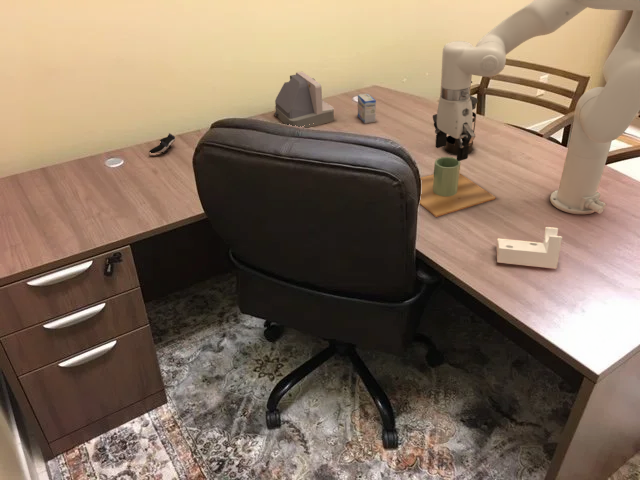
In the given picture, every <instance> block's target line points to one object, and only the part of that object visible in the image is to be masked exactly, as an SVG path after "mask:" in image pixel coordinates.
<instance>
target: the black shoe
mask: <svg viewBox="0 0 640 480" xmlns="http://www.w3.org/2000/svg"><path fill="white" fill-rule="evenodd" d="M176 139H177V138H176V136H174V135H173V134H172V133H170V132H168V135H167V136H166V137H162V138H161V139H159V141H161V143H160V144H159V145H157V146H154V147H152V148H151V149H150V150H149V151H148V153H149V152H151V153H161V152H163V153H161V154H166V153H167V152H168V150H170V149H171V148H172V145H173V144H174V143H175V141H176ZM170 145H171V146H170ZM169 146H170V147H169ZM148 155H149V154H148ZM159 155H160V154H156V155H149V157H156V156H159Z"/></svg>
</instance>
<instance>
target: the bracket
mask: <svg viewBox="0 0 640 480" xmlns="http://www.w3.org/2000/svg"><path fill="white" fill-rule="evenodd" d="M544 229H545V230H544V235H543V240H542V242H539V241H529V240H519V239H511V238H510V239H509V238H499V237H498V238H497V241H496V247H495V249H496V263H500V264H508V265H519V266H527V267H534V268H535V267H536V268H546V269H553V270H554V269H555V270H557V269H558V264H559V257H560V253H561V248H562V243H563V236H562V235H558V232H559V228H558V227H552V226H551V227H550V226H545V228H544Z"/></svg>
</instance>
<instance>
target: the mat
mask: <svg viewBox="0 0 640 480" xmlns="http://www.w3.org/2000/svg"><path fill="white" fill-rule="evenodd" d="M433 177H434V173H432V174H428V175H425V176H422V177H420V178H421V180H422V194H421V200H420V204H419V205H420V206H421V207H422V208H424V209H425V210H426V211H428V212H429V213H430V214H431V215H432V216H434V217H435V218H438V217H442V216H445V215H448V214H452V213H454V212H455V213H456V212H457V211H460V210H464V209H468V208H470V207H473V206H477V205H481V204H484V203H488V202H490V201H494V200H496V198H497V197H496V196H495V195H493V194H492V193H491V192H489V191H487V190H486V189H484V188H483V187H481V186H479V185H478V184H477V183H475V182H473V181H472V180H470V179H469V178H468V177H466V176H465V175H463V174H461V173H460V174H459V183H458V190H457V193H456V194H455V195H453V196H440V195H437V194H435V193H434V192H433Z"/></svg>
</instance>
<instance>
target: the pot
mask: <svg viewBox="0 0 640 480" xmlns="http://www.w3.org/2000/svg"><path fill="white" fill-rule="evenodd" d="M461 162H462V161H457V157H453V156H441V157H437V158H436V159H435V160H434V165H433V174H434V177H433V192H434V193H435V194H437V195H440V196H453V195H455V194H456V193H457V190H458V183H459V174H461V164H462V163H461Z"/></svg>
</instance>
